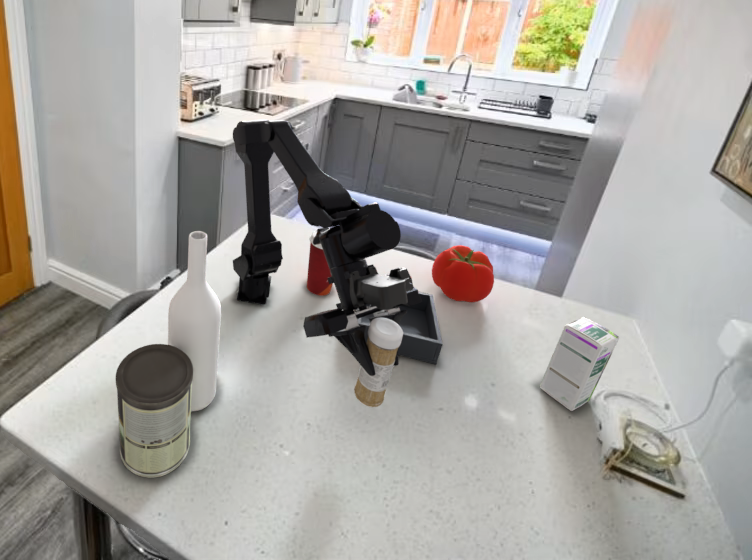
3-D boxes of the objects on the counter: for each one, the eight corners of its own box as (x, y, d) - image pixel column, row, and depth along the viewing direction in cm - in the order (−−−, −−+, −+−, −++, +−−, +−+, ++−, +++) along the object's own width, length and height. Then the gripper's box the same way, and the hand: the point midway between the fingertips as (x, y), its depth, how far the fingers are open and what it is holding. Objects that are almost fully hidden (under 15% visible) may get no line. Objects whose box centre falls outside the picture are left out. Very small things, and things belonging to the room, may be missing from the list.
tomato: (439, 269, 113) (450, 234, 109) (494, 294, 105) (508, 256, 101) (417, 290, 104) (428, 253, 100) (476, 319, 95) (490, 279, 91)
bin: (352, 343, 86) (356, 323, 84) (355, 296, 100) (359, 278, 98) (436, 364, 82) (443, 344, 80) (427, 312, 96) (433, 294, 94)
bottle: (205, 418, 68) (215, 256, 57) (158, 403, 70) (159, 242, 59) (222, 379, 76) (234, 228, 64) (179, 366, 78) (183, 217, 66)
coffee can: (105, 440, 64) (101, 367, 59) (163, 401, 71) (164, 332, 66) (144, 495, 57) (143, 419, 52) (204, 446, 64) (209, 374, 59)
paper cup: (338, 299, 98) (348, 246, 93) (304, 297, 98) (312, 244, 93) (331, 279, 106) (341, 228, 100) (300, 276, 105) (307, 226, 100)
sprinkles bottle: (369, 379, 69) (387, 312, 64) (390, 402, 66) (410, 333, 60) (347, 389, 67) (363, 320, 62) (367, 413, 64) (386, 342, 58)
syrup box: (572, 412, 74) (605, 347, 69) (537, 386, 79) (565, 323, 74) (589, 401, 77) (622, 337, 71) (554, 376, 82) (583, 314, 76)
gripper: (328, 267, 56) (371, 395, 52) (427, 240, 65) (472, 349, 60) (287, 281, 66) (320, 391, 61) (379, 257, 74) (414, 352, 70)
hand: (384, 370), depth 63 cm, fingers closed on sprinkles bottle, 4 cm apart
